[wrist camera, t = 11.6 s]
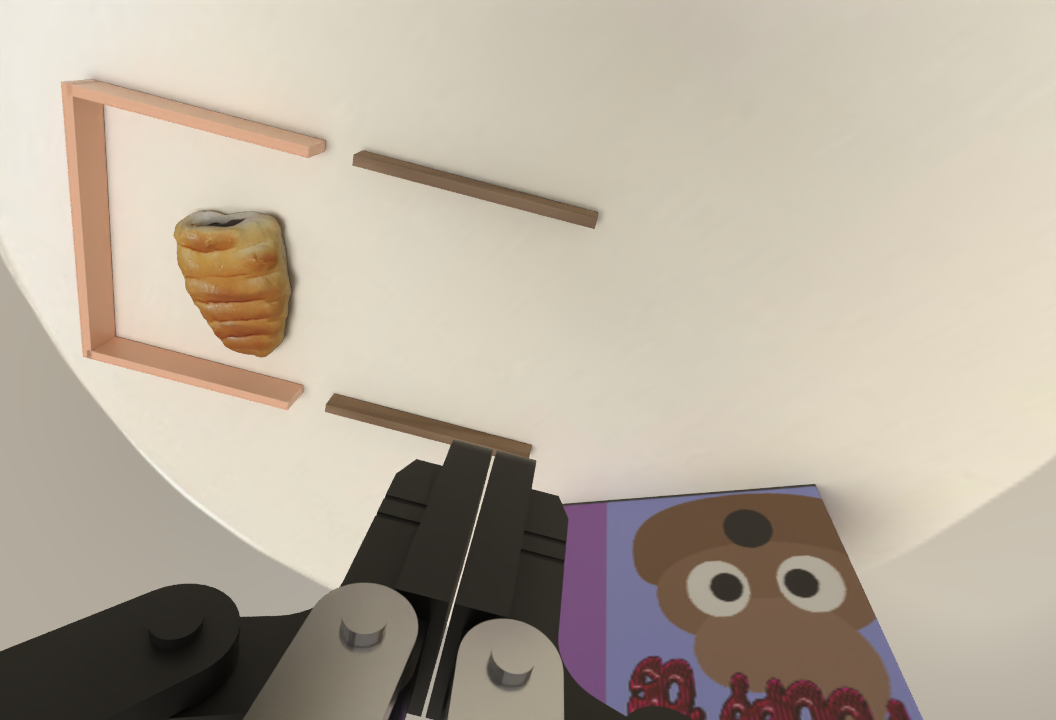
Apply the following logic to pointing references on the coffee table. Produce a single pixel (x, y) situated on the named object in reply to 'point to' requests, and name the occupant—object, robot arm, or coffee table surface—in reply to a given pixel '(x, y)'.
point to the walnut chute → (485, 192)
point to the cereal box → (723, 610)
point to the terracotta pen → (95, 244)
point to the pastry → (237, 277)
